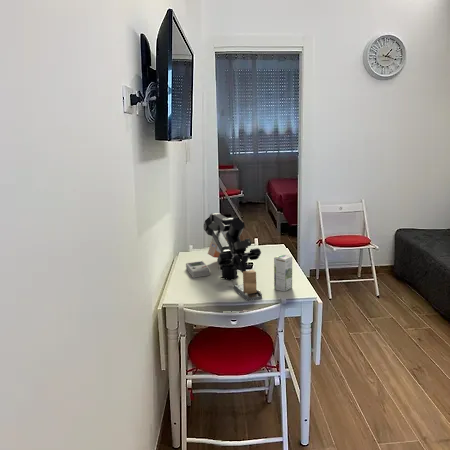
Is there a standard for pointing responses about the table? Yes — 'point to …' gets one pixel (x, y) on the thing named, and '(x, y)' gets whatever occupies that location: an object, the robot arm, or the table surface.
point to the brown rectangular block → (249, 281)
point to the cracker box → (215, 246)
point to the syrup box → (283, 272)
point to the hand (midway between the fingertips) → (244, 273)
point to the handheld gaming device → (198, 269)
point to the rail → (248, 296)
